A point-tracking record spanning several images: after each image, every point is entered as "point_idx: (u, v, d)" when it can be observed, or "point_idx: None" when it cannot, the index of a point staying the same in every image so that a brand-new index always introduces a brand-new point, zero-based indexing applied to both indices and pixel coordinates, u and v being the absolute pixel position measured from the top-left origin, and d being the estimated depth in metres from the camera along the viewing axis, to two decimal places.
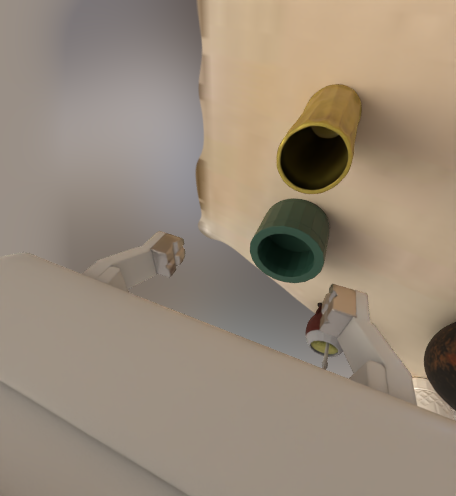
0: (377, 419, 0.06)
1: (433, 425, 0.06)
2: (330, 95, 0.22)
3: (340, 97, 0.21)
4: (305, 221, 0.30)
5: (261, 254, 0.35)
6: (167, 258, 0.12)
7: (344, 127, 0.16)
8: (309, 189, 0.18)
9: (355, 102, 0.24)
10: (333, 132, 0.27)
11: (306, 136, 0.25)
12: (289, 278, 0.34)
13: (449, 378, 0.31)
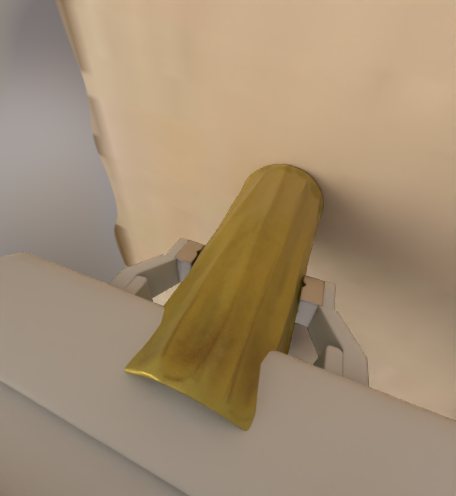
0: (377, 419, 0.06)
1: (433, 425, 0.06)
2: (265, 198, 0.13)
3: (280, 208, 0.12)
4: None
5: None
6: None
7: (255, 355, 0.07)
8: None
9: (312, 198, 0.15)
10: None
11: None
12: None
13: None
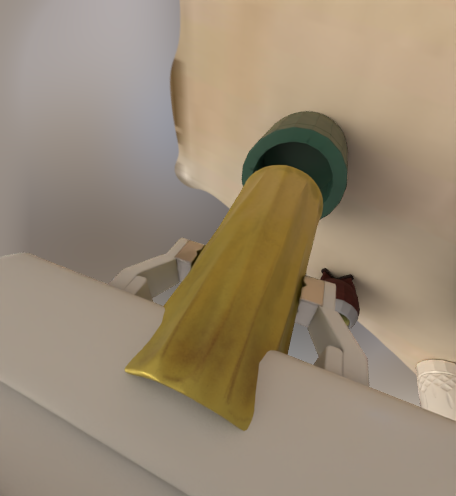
0: (377, 419, 0.06)
1: (433, 425, 0.06)
2: (265, 199, 0.13)
3: (280, 208, 0.12)
4: (321, 126, 0.21)
5: None
6: None
7: (255, 355, 0.07)
8: None
9: (312, 198, 0.15)
10: None
11: None
12: None
13: None
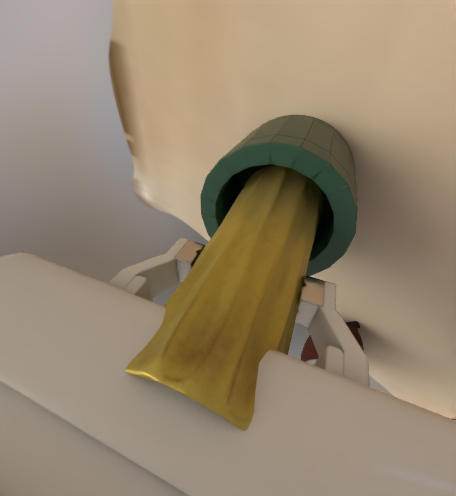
0: (377, 419, 0.06)
1: (433, 425, 0.06)
2: (266, 199, 0.13)
3: (280, 209, 0.12)
4: (316, 140, 0.13)
5: None
6: (192, 266, 0.11)
7: (255, 355, 0.07)
8: None
9: (312, 198, 0.15)
10: None
11: None
12: None
13: None
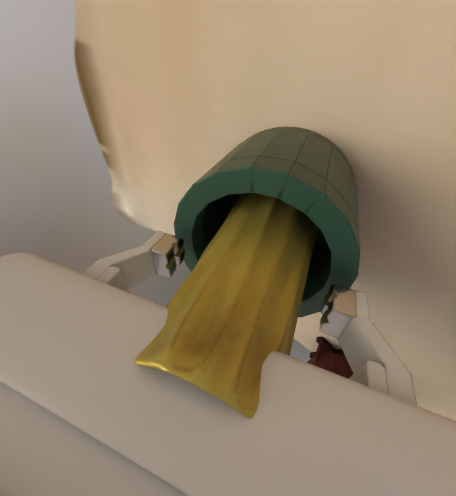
0: (377, 419, 0.06)
1: (433, 425, 0.06)
2: (268, 197, 0.13)
3: (282, 207, 0.12)
4: (310, 162, 0.11)
5: None
6: (167, 258, 0.12)
7: (260, 347, 0.07)
8: None
9: None
10: None
11: None
12: None
13: None
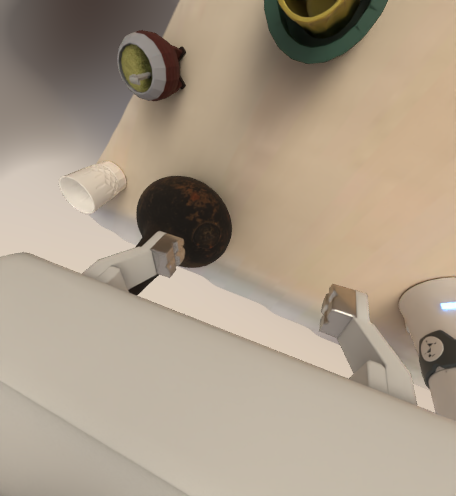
0: (377, 419, 0.06)
1: (433, 425, 0.06)
2: None
3: (352, 6, 0.20)
4: None
5: None
6: (167, 258, 0.12)
7: (336, 9, 0.16)
8: None
9: (334, 29, 0.24)
10: (311, 4, 0.24)
11: None
12: None
13: (176, 198, 0.35)
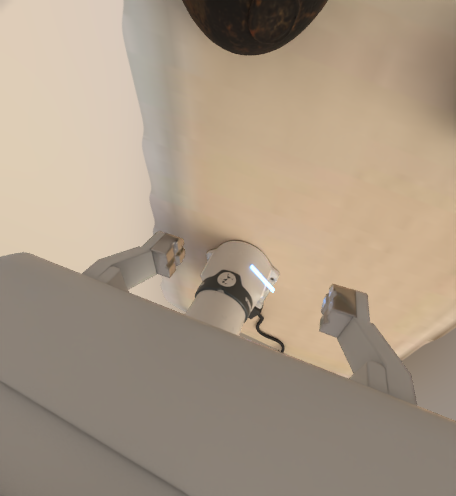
0: (377, 419, 0.06)
1: (433, 425, 0.06)
2: None
3: None
4: None
5: None
6: (167, 258, 0.12)
7: None
8: None
9: None
10: None
11: None
12: None
13: None
